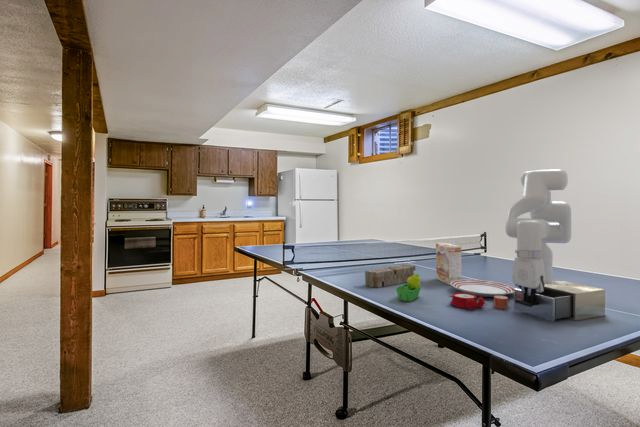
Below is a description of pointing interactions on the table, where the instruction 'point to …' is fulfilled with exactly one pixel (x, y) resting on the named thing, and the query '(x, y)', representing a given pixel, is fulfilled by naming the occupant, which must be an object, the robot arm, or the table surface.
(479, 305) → the alarm clock
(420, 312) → the table surface
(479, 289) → the dinner plate
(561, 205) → the robot arm
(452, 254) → the coffeecake box
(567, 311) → the handled box
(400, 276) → the block tower
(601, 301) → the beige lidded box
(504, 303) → the orange glossy cylinder
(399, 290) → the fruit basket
